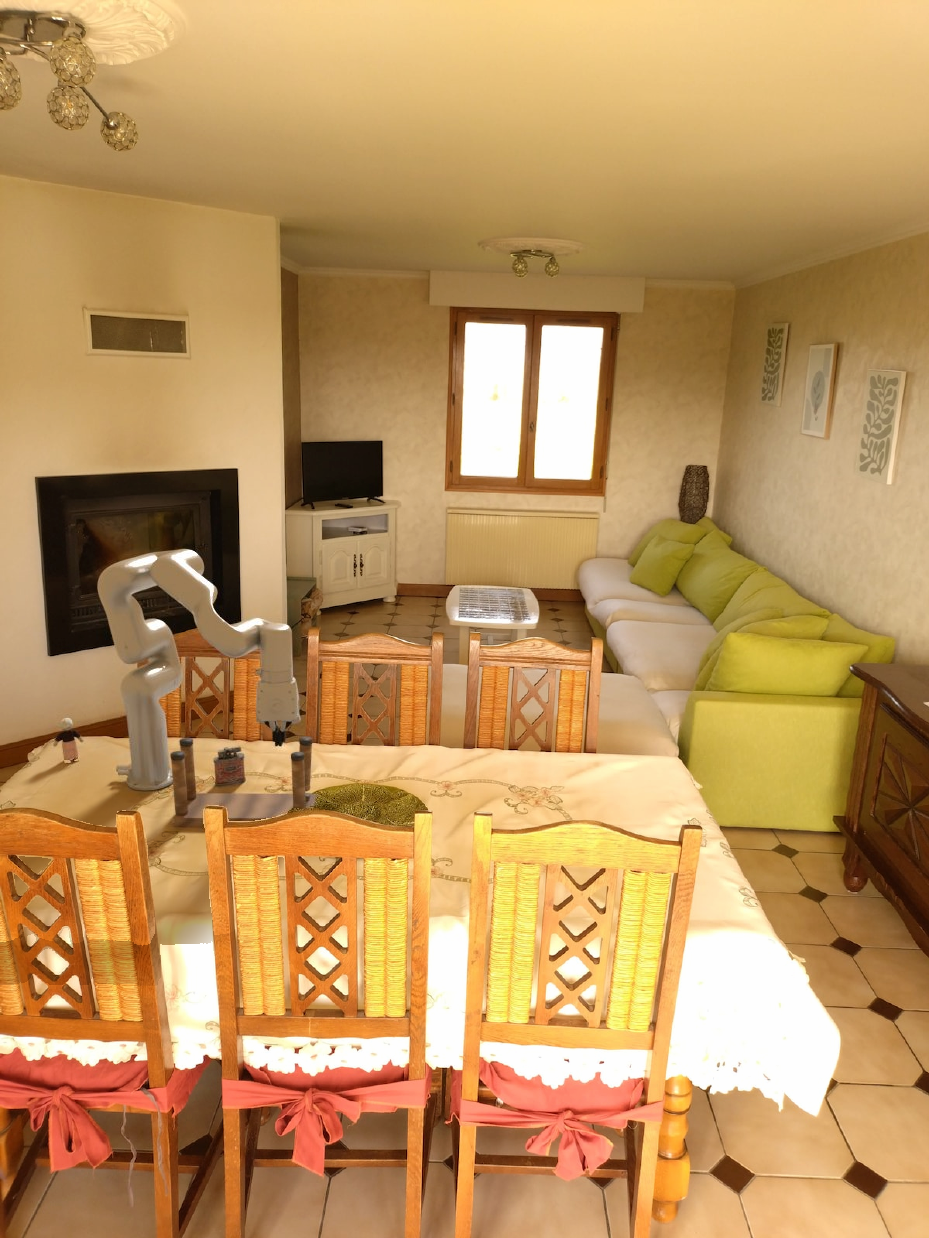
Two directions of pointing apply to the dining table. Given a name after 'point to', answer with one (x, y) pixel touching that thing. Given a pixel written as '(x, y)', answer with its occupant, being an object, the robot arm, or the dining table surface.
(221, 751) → the lighter
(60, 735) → the grandmother figurine
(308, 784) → the folding leg
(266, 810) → the stool
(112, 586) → the robot arm
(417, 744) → the dining table surface
